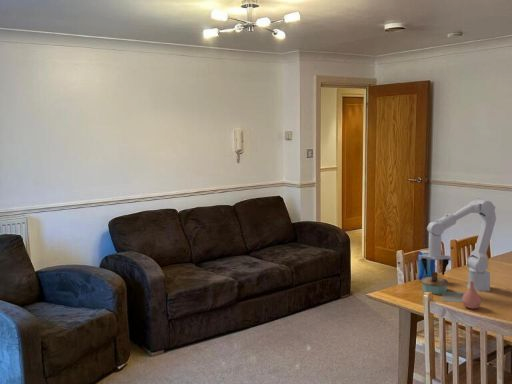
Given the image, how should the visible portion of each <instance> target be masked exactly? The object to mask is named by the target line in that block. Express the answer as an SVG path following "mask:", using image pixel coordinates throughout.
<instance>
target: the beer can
mask: <svg viewBox="0 0 512 384" xmlns="http://www.w3.org/2000/svg"><path fill="white" fill-rule="evenodd" d="M427 254H429V249H421V250H419V252H418V254H417V280H418V281H419V282H421V283H422V279H423V278H426V277H432V272H436V260H428V259H427V274H426V273H425V268H424V265H423V263H422V260H419V255H427Z"/></svg>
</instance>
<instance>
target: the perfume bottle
mask: <svg viewBox="0 0 512 384" xmlns="http://www.w3.org/2000/svg"><path fill="white" fill-rule="evenodd" d="M461 303H462V304H463V306H464V308H465V307H466V308H468V309H479V308H480V306H481V304H482V300H481V296H480V294H478V292H477V291H475V289H474V282H470V288H469V289H468V288H467V290H466V292H465V294H464V295H463V298H462V302H461Z"/></svg>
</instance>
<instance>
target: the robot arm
mask: <svg viewBox="0 0 512 384" xmlns="http://www.w3.org/2000/svg"><path fill="white" fill-rule="evenodd" d="M495 210H496V206H495V205H494V204H493V202H492V201H489V200H485V199H482V198H475V199H474V200H471V201H470V202H468V203H467V204H466V205H465V206H463V207H462V208H460V209H458V210H457V211H456V212H454V213H445V214H444V215H443V216H442V217H440V218H439V219H435V221H431V222H429V223H428V225H427V227H426V230H427V232H428V250H429V254H427V255H419V260H422V263H423V265H424V268H425V273H426V274H427V259H428V260H435V261H436V260H437V261H442V269H441V275H442V276H444V275H445V272H446V268H447V267H448V265H449V262H450V261H452V256H451V255H445V254H442V234H443V233H444V232H445V231H446V230H447V229H449V228H451V227H453V226H454V225H456V224H457V221H458V220H460V219H462V218H464V217H467V216H468V215H470V214H473V213H474V214H479V216H480V218H481V219H482V222H481V226H480V229H479V233H478V236H477V240H476V244H475V247H474V250H472V251H471V252H470V254H469V256H468V258H466V265H467V266H468V284H466V287H467V290H468V289H469V288H470V282H474V289H475V291H476V292H477V291H478V292H490V291H491V290H490V289H491V288H490V287H491V274H490V271H488V268H489V264H488V262H489V257H488V255H487V252H488V249H489V245H490V241H491V238H492V235H493V233H494V227H495V224H496V220H497V216H496V215H497V214H496V211H495Z"/></svg>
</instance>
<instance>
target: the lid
mask: <svg viewBox="0 0 512 384" xmlns="http://www.w3.org/2000/svg"><path fill="white" fill-rule="evenodd" d="M448 282H449V281H448V280H447V279H446V278H443V277H438V272H437V271H435V272H432V277H426V278H423V279H422V282H421V283H423V284H426V285H430V286H445V285H448Z"/></svg>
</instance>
